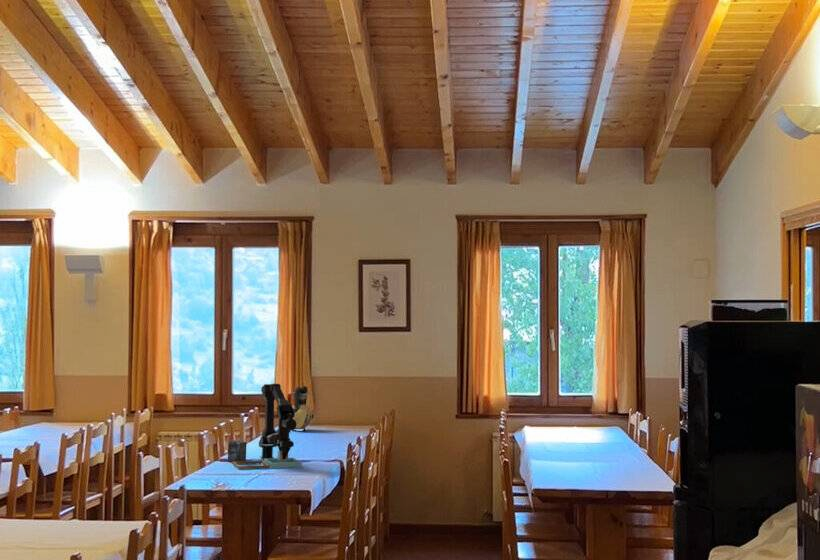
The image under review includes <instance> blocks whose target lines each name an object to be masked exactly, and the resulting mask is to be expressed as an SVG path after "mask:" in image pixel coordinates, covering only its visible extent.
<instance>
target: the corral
mask: <svg viewBox="0 0 820 560" xmlns="http://www.w3.org/2000/svg"><path fill="white" fill-rule="evenodd" d="M231 463H232V464H233V465H232V466H234V468H236V469H237V470H253V469H252V468H268V469H270V465H268V464H267V463H265V462H264V460H246V461H232V462H231ZM251 463H262V464H263V465H262V464H258V465H252V464H251Z"/></svg>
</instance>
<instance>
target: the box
mask: <svg viewBox="0 0 820 560" xmlns="http://www.w3.org/2000/svg"><path fill="white" fill-rule="evenodd" d="M227 444H228V445H227V446H228V447H227V448H228V449H227V462H229V463H232V461H247V441H241V440H229V441H228V443H227Z"/></svg>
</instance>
